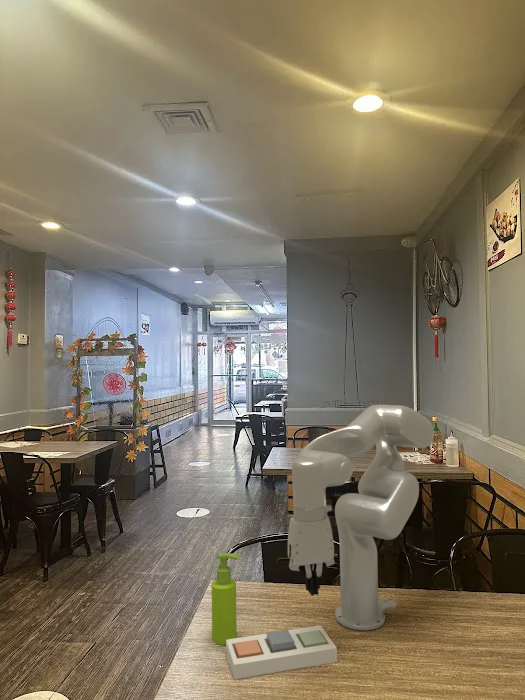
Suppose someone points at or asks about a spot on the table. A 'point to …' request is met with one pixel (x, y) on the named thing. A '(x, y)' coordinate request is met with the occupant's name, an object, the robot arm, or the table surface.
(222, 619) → the soap dispenser
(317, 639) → the sage button
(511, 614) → the table surface
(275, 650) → the slate button
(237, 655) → the terracotta button
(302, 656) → the button panel
